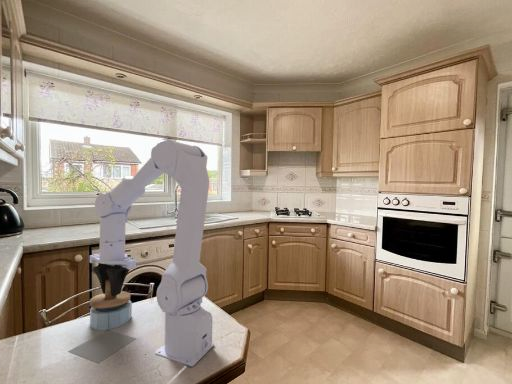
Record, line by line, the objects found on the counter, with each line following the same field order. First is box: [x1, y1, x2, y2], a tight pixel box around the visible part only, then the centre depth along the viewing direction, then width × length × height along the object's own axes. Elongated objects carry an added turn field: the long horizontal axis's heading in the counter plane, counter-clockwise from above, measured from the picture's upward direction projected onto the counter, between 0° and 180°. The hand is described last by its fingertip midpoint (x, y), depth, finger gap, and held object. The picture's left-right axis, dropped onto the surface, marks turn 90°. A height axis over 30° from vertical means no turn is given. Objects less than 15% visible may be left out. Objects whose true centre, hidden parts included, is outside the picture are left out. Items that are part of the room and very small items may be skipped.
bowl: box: [89, 299, 133, 331], centre depth 65 cm, size 9×9×4 cm
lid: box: [89, 279, 131, 308], centre depth 65 cm, size 9×9×5 cm
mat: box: [67, 329, 137, 364], centre depth 55 cm, size 9×9×1 cm
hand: (111, 293), depth 65 cm, fingers closed on lid, 3 cm apart
